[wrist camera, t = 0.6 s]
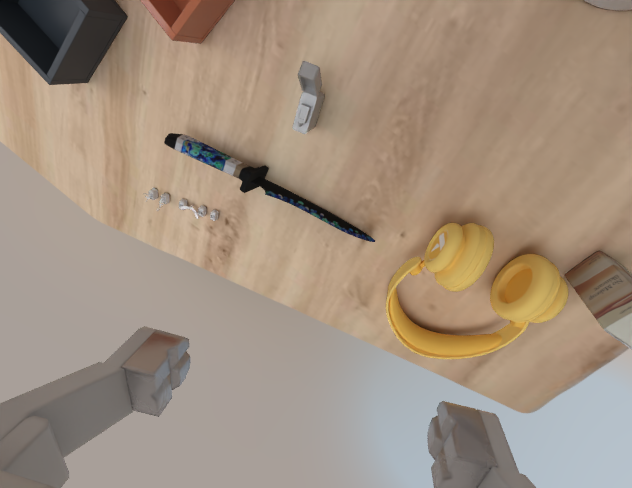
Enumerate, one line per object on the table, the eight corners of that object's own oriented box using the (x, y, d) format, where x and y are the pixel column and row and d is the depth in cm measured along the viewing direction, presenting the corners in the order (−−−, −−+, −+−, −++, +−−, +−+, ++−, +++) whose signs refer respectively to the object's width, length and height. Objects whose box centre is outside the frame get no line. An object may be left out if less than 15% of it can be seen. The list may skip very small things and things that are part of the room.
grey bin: (48, -82, 35) (-8, -105, 30) (128, 16, 38) (89, 9, 33) (15, 3, 40) (-37, -6, 35) (87, 82, 43) (49, 85, 38)
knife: (177, 136, 43) (159, 146, 39) (183, 116, 41) (165, 124, 37) (364, 244, 48) (364, 261, 44) (376, 229, 46) (377, 246, 42)
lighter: (314, 128, 39) (296, 141, 32) (302, 123, 39) (281, 135, 32) (334, 66, 35) (318, 66, 29) (319, 61, 35) (300, 59, 29)
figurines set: (219, 209, 48) (209, 216, 46) (217, 224, 50) (208, 232, 47) (149, 185, 49) (136, 191, 47) (149, 201, 51) (137, 208, 48)
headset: (365, 306, 51) (361, 349, 43) (442, 197, 40) (455, 227, 32) (462, 353, 51) (475, 404, 43) (564, 257, 40) (606, 301, 33)
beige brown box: (598, 248, 38) (655, 301, 30) (625, 267, 39) (689, 324, 30) (560, 275, 41) (602, 330, 33) (586, 293, 41) (634, 351, 33)
